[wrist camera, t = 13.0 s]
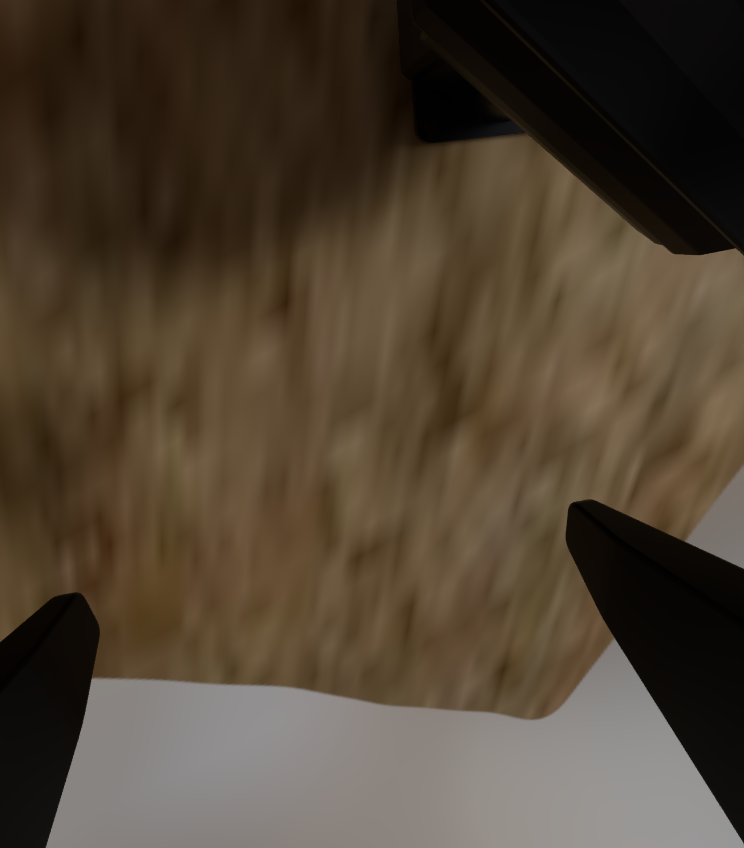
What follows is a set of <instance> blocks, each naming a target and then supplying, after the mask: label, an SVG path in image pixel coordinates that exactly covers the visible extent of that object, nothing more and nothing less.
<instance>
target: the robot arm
mask: <svg viewBox="0 0 744 848" xmlns="http://www.w3.org/2000/svg"><path fill="white" fill-rule="evenodd" d="M397 11H398V27H399V43H400V60H401V72H402V74H403V75H404V76H405V77H406V78H407V79H408V80H412V92H413V110H414V129H415V133H416V136H417V137H418V139H419V140H420V141H422V142H424V143H436V142H445V141H453V140H462V139H471V138H479V137H488V136H497V135H505V134H514V133H523V132H526V133H527V134H528V135H529V136H530V137H531V138H533V139H534V140H535V141H536V142H537V143H538V144H539V145H541V146H542V147H543V148H544V149H545V150H546V151H547V152H548V153H550V154H551V155H552V156H553V157H554V158H555V159H556V160H558V161H559V162H560V163H561V164H562V165H563V166H564V167H566V168H567V169H568V170H569V171H570V172H571V173H572V174H573V175H575V176H576V177H577V178H578V179H579V180H580V181H581V182H583V183H584V184H585V185H586V186H587V187H588V188H589V189H591V190H592V191H593V192H594V193H595V194H596V195H597V196H599V197H600V198H601V199H602V200H603V201H604V202H605V203H606V204H608V205H609V206H610V207H611V208H612V209H613V210H614V211H616V212H617V213H618V214H619V215H620V216H621V217H622V218H624V219H625V220H626V221H627V222H628V223H629V224H630V225H631V226H633V227H634V228H635V229H636V230H637V231H639V232H640V233H642V234H643V235H644V236H646V237H647V238H648V239H650V240H651V241H653V242H654V243H656V244H660V245H663V246H664V247H665V248H667V249H668V250H669V251H670V252H671V253H673V254H684V255H704V254H709V253H714V252H719V251H724V250H729V249H734V248H736V249H737V250H738V251H740V252H741V253H742V254H743V255H744V0H397ZM428 118H429V119H432V120H433V121H434V122H435V126H436V127H435V131H434V132H433V134H431V135H430V134H427V133H426V132H425V129H424V123H425V121H426V120H427V119H428ZM566 543H567V546H568V549H569V551H570V553H571V555H572V557H573V559H574V561H575V563H576V565H577V567H578V569H579V571H580V574H581V576H582V578H583V580H584V582H585V584H586V586H587V588H588V590H589V592H590V594H591V596H592V598H593V600H594V602H595V604H596V606H597V608H598V610H599V612H600V614H601V616H602V618H603V620H604V621H605V623H606V625H607V626H608V628H609V630H610V631H611V633H612V635H613V636H614V638H615V639H616V641H617V642H618V644H619V646H620V647H621V649H622V650H623V652H624V654H625V655H626V657H627V658H628V660H629V662H630V663H631V665H632V666H633V668H634V670H635V671H636V673H637V674H638V676H639V677H640V679H641V681H642V682H643V684H644V685H645V687H646V689H647V690H648V692H649V693H650V695H651V697H652V698H653V700H654V701H655V703H656V704H657V706H658V708H659V709H660V711H661V712H662V714H663V716H664V717H665V719H666V720H667V722H668V724H669V725H670V727H671V728H672V730H673V731H674V733H675V735H676V736H677V738H678V740H679V741H680V742H681V744H682V746H683V747H684V749H685V751H686V752H687V754H688V755H689V757H690V759H691V760H692V762H693V763H694V765H695V767H696V768H697V770H698V771H699V773H700V775H701V776H702V777H703V779H704V781H705V782H706V784H707V786H708V787H709V789H710V790H711V792H712V794H713V795H714V797H715V798H716V800H717V802H718V803H719V805H720V806H721V808H722V809H723V811H724V813H725V814H726V816H727V817H728V819H729V821H730V822H731V824H732V825H733V827H734V829H735V830H736V832H737V833H738V835H739V837H740V838H741V840H742V841H743V843H744V569H743V568H741V567H738V566H736V565H734V564H732V563H730V562H727V561H726V560H723V559H721V558H719V557H717V556H715V555H713V554H710V553H708V552H706V551H704V550H702V549H699V548H697V547H695V546H693V545H691V544H689V543H686V542H684V541H682V540H680V539H678V538H676V537H673V536H671V535H669V534H667V533H665V532H663V531H660V530H658V529H656V528H654V527H652V526H650V525H647V524H645V523H643V522H641V521H639V520H636V519H634V518H632V517H630V516H628V515H626V514H623V513H621V512H619V511H617V510H615V509H613V508H610V507H608V506H606V505H604V504H602V503H600V502H597V501H595V500H592V499H588V500H582V501H577V502H573V503H571V504H570V506H569V508H568V516H567V526H566ZM99 637H100V629H99V624H98V622H97V620H96V618H95V616H94V614H93V612H92V610H91V608H90V606H89V605H88V603H87V601H86V599H85V597H84V596H83V595H82V594H81V593H77V592H75V593H69V594H64V595H58V596H55V597H53V598H52V599H50V600H49V601H48V602H47V603H46V604H44V605H43V606H42V607H41V608H40V609H39V610H37V611H36V612H35V613H34V614H33V615H32V616H30V617H29V618H28V619H27V620H26V621H25V622H23V623H22V624H21V625H20V626H19V627H17V628H16V629H15V630H14V631H13V632H12V633H10V634H9V635H8V636H7V637H6V638H5V639H3V640H2V641H1V642H0V848H46V845H47V842H48V838H49V835H50V832H51V828H52V825H53V822H54V818H55V815H56V812H57V808H58V805H59V802H60V798H61V795H62V792H63V788H64V785H65V782H66V778H67V775H68V772H69V769H70V765H71V762H72V759H73V755H74V752H75V749H76V745H77V742H78V739H79V735H80V731H81V728H82V724H83V719H84V715H85V711H86V705H87V700H88V695H89V689H90V684H91V679H92V674H93V669H94V664H95V658H96V653H97V648H98V643H99Z"/></svg>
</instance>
